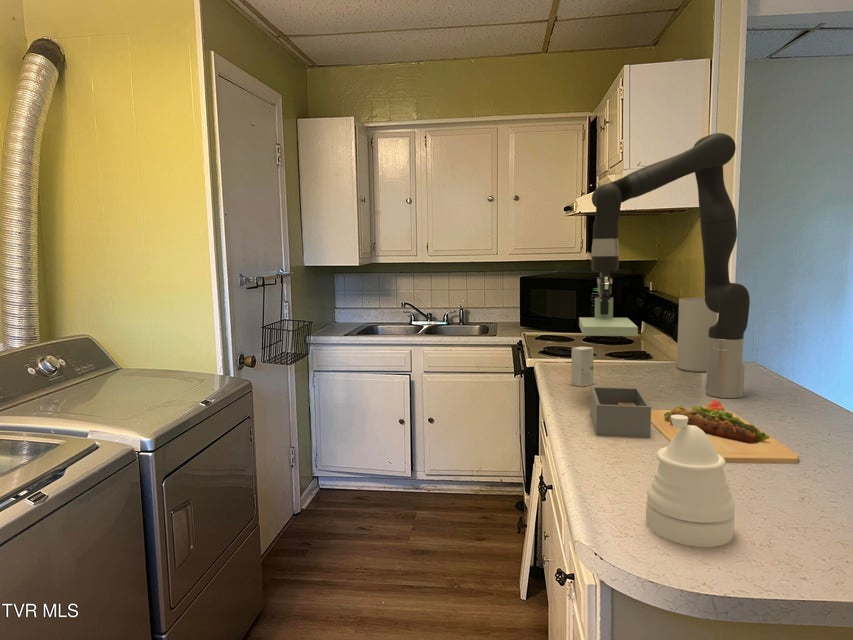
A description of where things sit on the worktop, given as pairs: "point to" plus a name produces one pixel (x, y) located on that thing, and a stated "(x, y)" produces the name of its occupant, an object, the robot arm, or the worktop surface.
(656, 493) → the honey pot
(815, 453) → the worktop surface
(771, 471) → the worktop surface
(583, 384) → the skincare box
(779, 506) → the worktop surface
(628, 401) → the tub
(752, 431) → the cutting board
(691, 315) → the cylinder vase
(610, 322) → the lid
